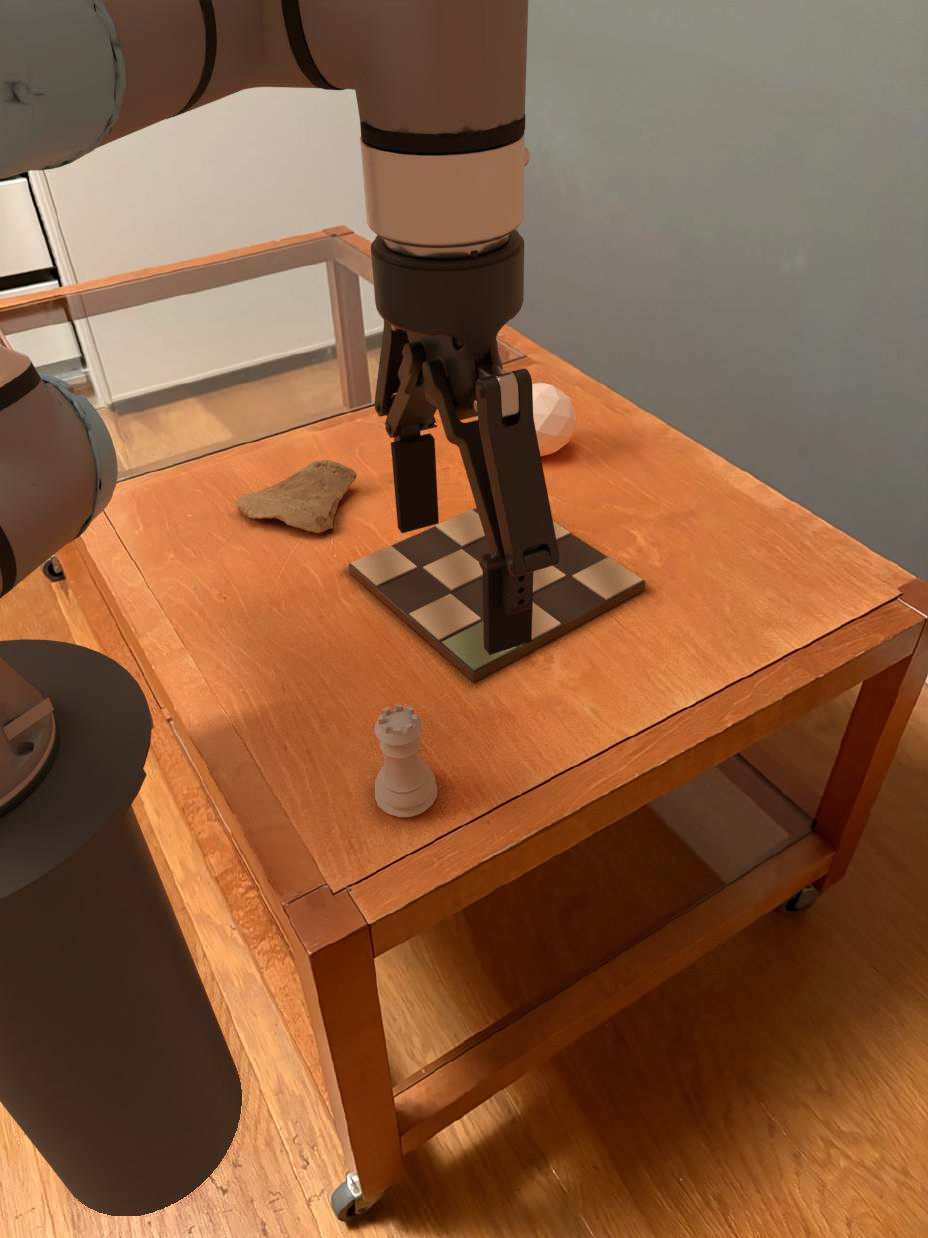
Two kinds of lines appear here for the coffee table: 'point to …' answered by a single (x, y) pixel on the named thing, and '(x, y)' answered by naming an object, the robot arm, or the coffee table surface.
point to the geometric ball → (552, 417)
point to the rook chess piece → (402, 765)
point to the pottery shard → (302, 497)
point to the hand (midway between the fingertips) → (459, 580)
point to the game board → (453, 590)
